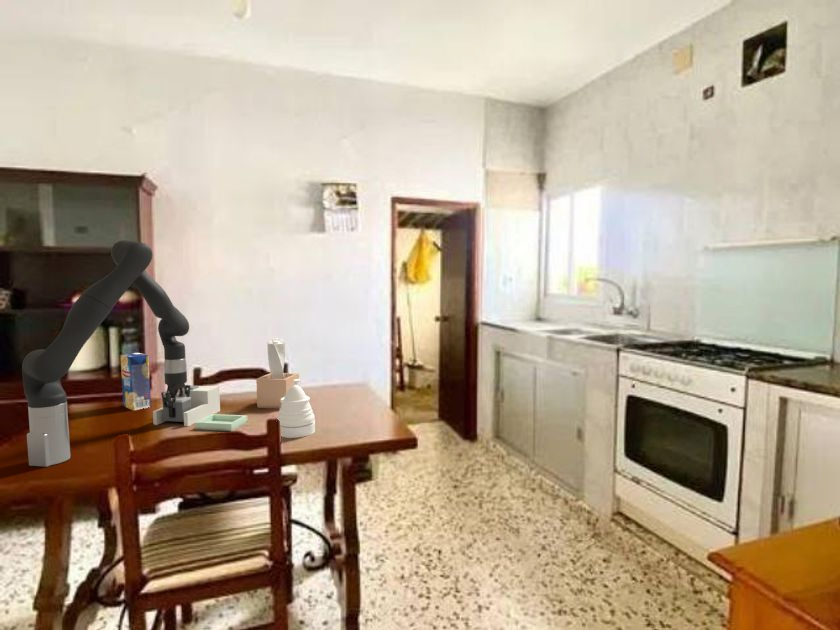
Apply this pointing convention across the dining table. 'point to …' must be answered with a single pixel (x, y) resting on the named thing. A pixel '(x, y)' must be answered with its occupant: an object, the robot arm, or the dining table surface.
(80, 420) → the dining table surface
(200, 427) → the tray
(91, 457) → the dining table surface
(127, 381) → the beverage box
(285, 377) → the open tan box
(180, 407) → the grey gripped cube
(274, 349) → the skyscraper
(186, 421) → the white dispenser chute
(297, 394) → the honey pot
